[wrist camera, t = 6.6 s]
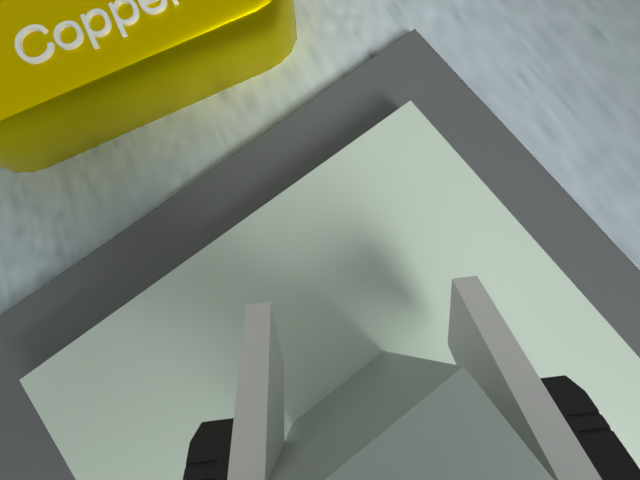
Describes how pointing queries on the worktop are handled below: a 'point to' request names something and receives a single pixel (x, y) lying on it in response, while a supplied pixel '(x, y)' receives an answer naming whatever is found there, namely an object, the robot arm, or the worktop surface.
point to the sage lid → (340, 331)
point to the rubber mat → (269, 181)
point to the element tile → (122, 66)
